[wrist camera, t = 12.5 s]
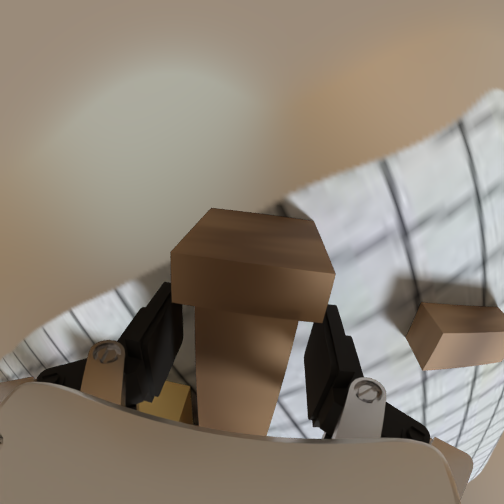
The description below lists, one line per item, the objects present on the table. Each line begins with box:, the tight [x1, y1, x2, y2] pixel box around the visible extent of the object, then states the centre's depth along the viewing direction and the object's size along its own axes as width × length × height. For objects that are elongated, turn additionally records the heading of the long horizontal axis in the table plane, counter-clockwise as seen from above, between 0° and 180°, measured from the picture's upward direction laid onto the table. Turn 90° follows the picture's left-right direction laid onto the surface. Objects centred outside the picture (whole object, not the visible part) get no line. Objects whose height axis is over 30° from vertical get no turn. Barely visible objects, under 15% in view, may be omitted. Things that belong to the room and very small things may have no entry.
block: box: [139, 381, 194, 425], centre depth 15 cm, size 5×5×5 cm
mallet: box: [171, 208, 336, 436], centre depth 14 cm, size 12×20×5 cm, turn 174°
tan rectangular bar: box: [406, 302, 504, 371], centre depth 12 cm, size 7×2×3 cm, turn 84°
